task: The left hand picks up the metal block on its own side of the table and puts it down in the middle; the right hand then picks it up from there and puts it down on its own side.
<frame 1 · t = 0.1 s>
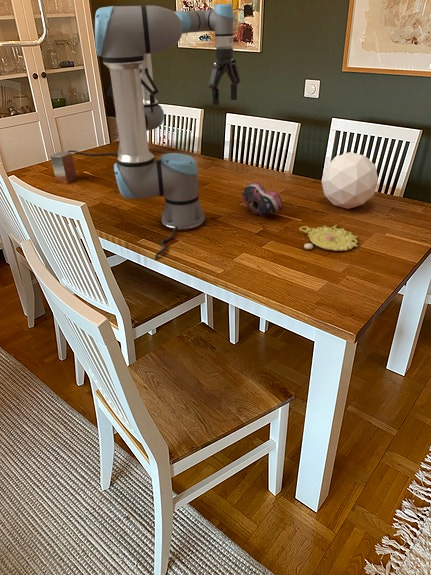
left hand: (225, 102, 196), 28 cm above the table, tool pointing down, fingers open, 13 cm apart
right hand: (135, 113, 180), 28 cm above the table, tool pointing down, fingers open, 13 cm apart
decorative object: (328, 239, 142), on the table
athletic shoe: (257, 211, 163), on the table
block: (66, 180, 197), on the table
sphere: (345, 205, 165), on the table
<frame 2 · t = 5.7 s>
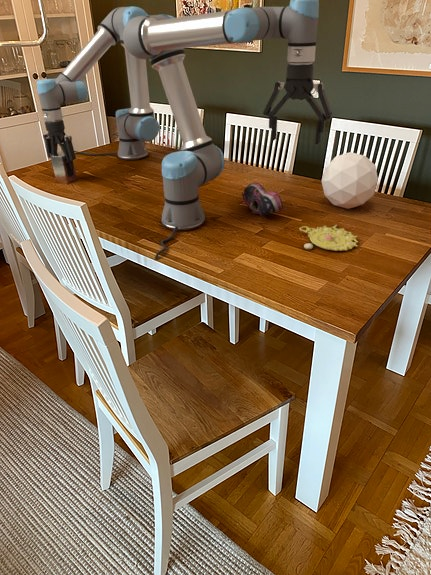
left hand: (65, 174, 196), 3 cm above the table, tool pointing down, fingers closed on block, 6 cm apart
right hand: (295, 141, 134), 29 cm above the table, tool pointing down, fingers open, 13 cm apart
block: (66, 180, 197), on the table, touching left hand
everything else where it was.
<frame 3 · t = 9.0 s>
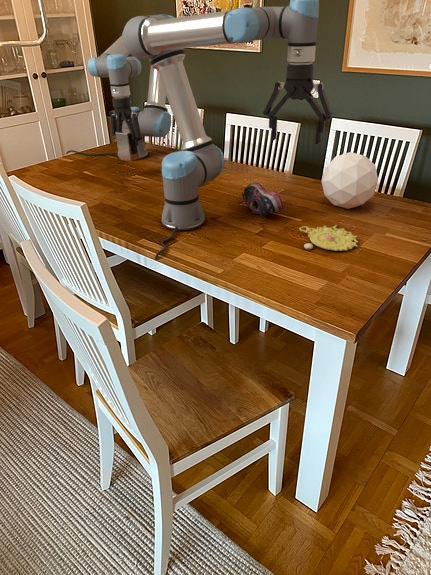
left hand: (128, 152, 195), 10 cm above the table, tool pointing down, fingers closed on block, 6 cm apart
right hand: (295, 141, 134), 29 cm above the table, tool pointing down, fingers open, 13 cm apart
block: (129, 158, 197), point 8 cm above the table, touching left hand
everything else where it was.
when the left hand's fingers open (4 cm above the table, at t = 12.5 s): block drops 2 cm, on the table.
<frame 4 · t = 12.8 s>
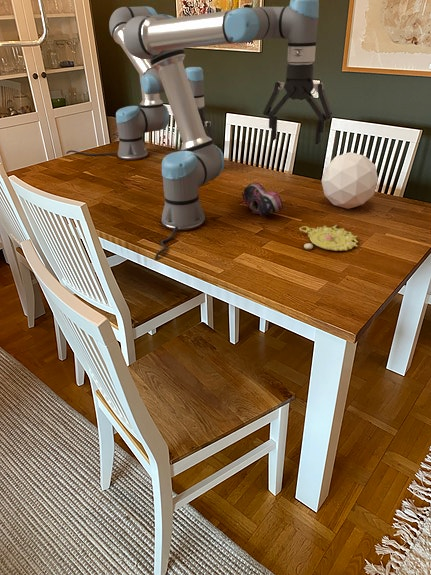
left hand: (198, 159, 202), 5 cm above the table, tool pointing down, fingers open, 9 cm apart
right hand: (295, 141, 134), 29 cm above the table, tool pointing down, fingers open, 13 cm apart
block: (198, 170, 205), on the table
everything else where it was.
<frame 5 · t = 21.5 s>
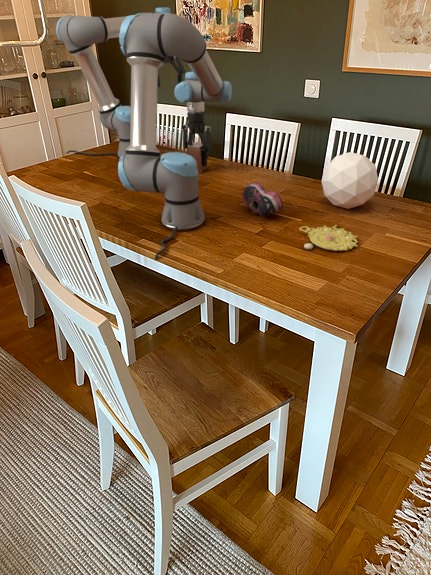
left hand: (169, 87, 239), 27 cm above the table, tool pointing down, fingers open, 13 cm apart
right hand: (198, 164, 203), 3 cm above the table, tool pointing down, fingers closed on block, 6 cm apart
block: (198, 170, 205), on the table, touching right hand
everything else where it was.
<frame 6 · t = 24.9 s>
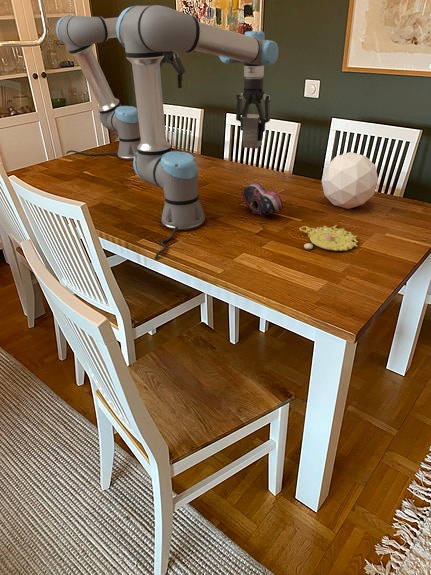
left hand: (169, 87, 239), 27 cm above the table, tool pointing down, fingers open, 13 cm apart
right hand: (252, 139, 182), 17 cm above the table, tool pointing down, fingers closed on block, 6 cm apart
block: (252, 146, 183), point 15 cm above the table, touching right hand
everything else where it was.
when the right hand's fingers open (4 cm above the table, at t = 28.9 s): block drops 2 cm, on the table.
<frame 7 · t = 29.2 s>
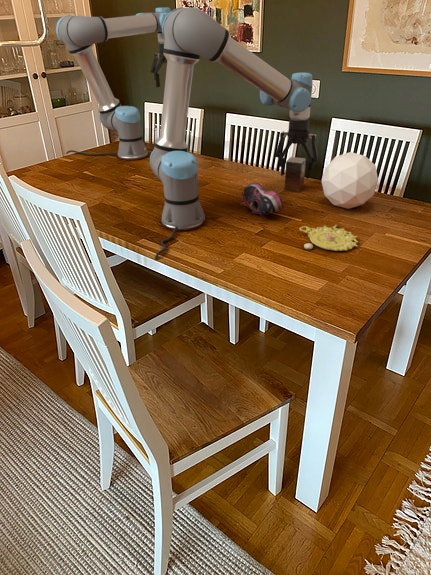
left hand: (169, 87, 239), 27 cm above the table, tool pointing down, fingers open, 13 cm apart
right hand: (295, 176, 179), 5 cm above the table, tool pointing down, fingers open, 10 cm apart
block: (294, 188, 181), on the table
everything else where it was.
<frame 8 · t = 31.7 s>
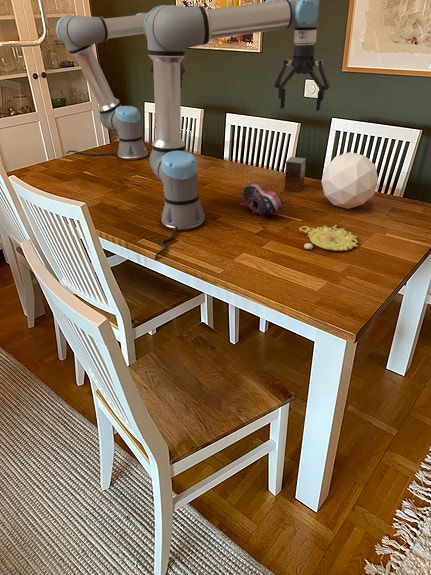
left hand: (169, 87, 239), 27 cm above the table, tool pointing down, fingers open, 13 cm apart
right hand: (300, 109, 165), 31 cm above the table, tool pointing down, fingers open, 13 cm apart
nothing on the table moved.
at the end: block inside the target area (0.1 cm from its centre), on the table; block tilted 0°; the two hands never held the block at the same time; the left hand is holding nothing; the right hand is holding nothing; block at rest at the end (0.0 cm/s) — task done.
